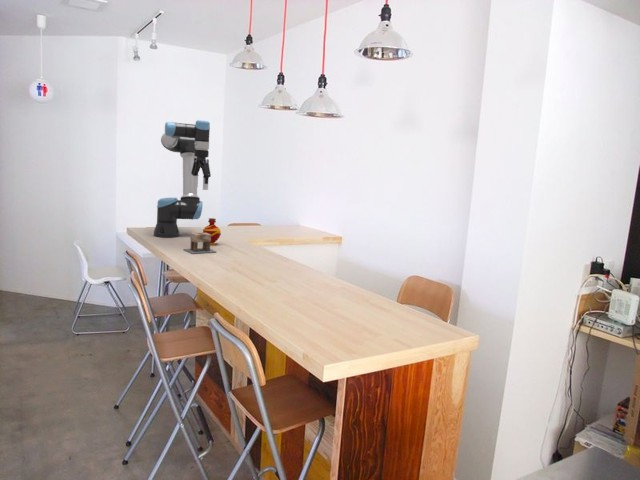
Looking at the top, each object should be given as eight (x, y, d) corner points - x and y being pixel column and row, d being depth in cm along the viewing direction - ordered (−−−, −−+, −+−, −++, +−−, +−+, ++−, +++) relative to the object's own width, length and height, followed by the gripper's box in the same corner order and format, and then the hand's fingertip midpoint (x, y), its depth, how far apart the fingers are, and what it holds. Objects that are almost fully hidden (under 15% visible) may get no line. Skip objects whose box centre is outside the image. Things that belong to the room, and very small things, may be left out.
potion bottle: (210, 246, 277) (211, 220, 275) (198, 243, 283) (199, 217, 281) (224, 244, 285) (225, 219, 283) (212, 241, 292) (213, 217, 289)
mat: (183, 250, 261) (183, 248, 261) (207, 248, 270) (207, 247, 270) (191, 254, 253) (191, 252, 253) (216, 252, 261) (216, 251, 261)
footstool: (205, 248, 266) (206, 232, 265) (210, 250, 262) (210, 234, 260) (189, 249, 261) (190, 233, 259) (194, 251, 256) (195, 234, 255)
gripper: (186, 148, 272) (184, 186, 275) (204, 149, 252) (203, 190, 256) (198, 149, 276) (197, 186, 280) (218, 150, 257) (216, 191, 260)
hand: (200, 188), depth 268 cm, fingers open, 13 cm apart
